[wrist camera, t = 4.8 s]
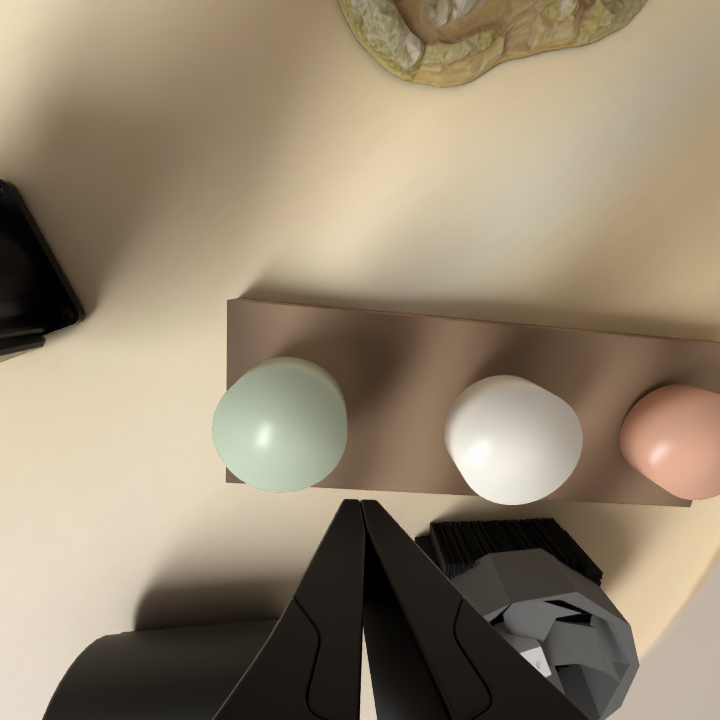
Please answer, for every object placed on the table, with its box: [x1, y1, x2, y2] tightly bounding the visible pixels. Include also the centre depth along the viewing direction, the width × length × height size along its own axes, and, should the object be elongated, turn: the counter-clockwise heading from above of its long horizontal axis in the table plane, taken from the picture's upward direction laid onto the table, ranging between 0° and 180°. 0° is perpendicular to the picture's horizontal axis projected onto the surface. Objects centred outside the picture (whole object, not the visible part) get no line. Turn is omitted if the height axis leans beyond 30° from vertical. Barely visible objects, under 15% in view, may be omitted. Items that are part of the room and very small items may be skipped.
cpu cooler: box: [415, 518, 639, 720], centre depth 19 cm, size 10×6×10 cm
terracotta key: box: [620, 384, 720, 500], centre depth 16 cm, size 5×5×2 cm
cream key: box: [444, 375, 583, 505], centre depth 14 cm, size 5×5×2 cm
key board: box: [226, 298, 720, 507], centre depth 18 cm, size 25×9×2 cm, turn 85°
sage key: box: [212, 357, 347, 492], centre depth 14 cm, size 5×5×2 cm
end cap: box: [42, 619, 279, 720], centre depth 18 cm, size 10×7×7 cm
